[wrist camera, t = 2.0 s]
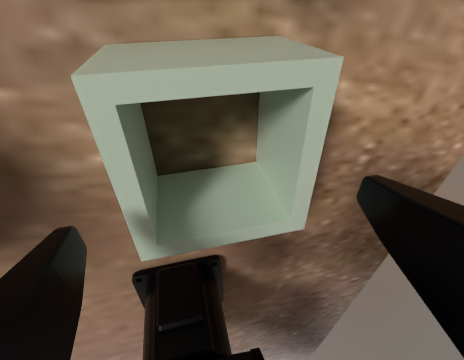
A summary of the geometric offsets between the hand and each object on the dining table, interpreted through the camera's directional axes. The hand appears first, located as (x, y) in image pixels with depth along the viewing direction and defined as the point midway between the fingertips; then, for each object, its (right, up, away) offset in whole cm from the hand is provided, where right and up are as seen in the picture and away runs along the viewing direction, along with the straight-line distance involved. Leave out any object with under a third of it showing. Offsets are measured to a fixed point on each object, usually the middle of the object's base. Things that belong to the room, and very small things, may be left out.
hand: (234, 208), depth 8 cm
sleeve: (-1, +4, +5) cm, 7 cm away
